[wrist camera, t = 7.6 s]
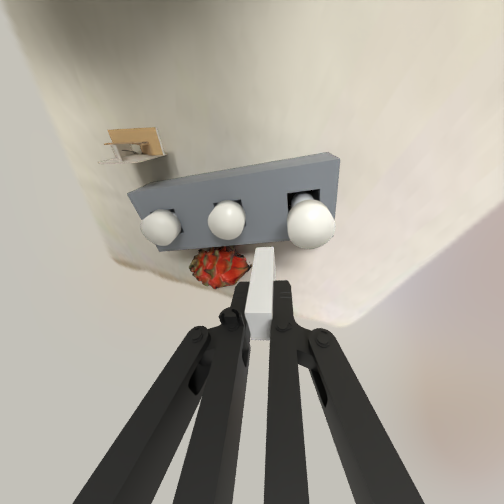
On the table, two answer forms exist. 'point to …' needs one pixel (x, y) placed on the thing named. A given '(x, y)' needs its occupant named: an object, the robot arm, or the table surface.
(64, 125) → the table surface
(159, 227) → the knob far
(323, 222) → the knob near
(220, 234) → the knob mid
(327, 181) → the mount
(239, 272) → the dragon fruit
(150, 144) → the architectural model
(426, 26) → the table surface
